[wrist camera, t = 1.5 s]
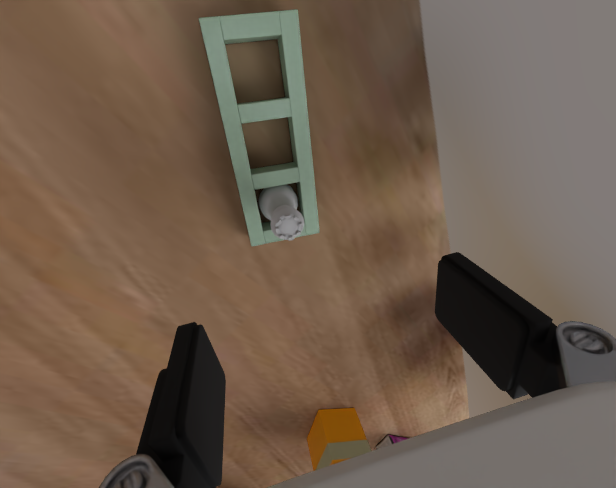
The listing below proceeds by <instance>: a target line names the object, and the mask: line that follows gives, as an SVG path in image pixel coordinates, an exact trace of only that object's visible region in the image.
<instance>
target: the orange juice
mask: <svg viewBox="0 0 616 488" xmlns="http://www.w3.org/2000/svg"><path fill="white" fill-rule="evenodd" d="M307 442H308V447H309V451H310V456H311V460H312V465H313V470H314V471H315V470H318V469H321V468H324V467H327V466H330V465H333V464H336V463H338V462H341V461H344V460H347V459H350V458H353V457H356V456H359V455H362V454H365V453H368V452H371V448H370V446H369V443H368V441H367V439H366V436H365V434H364V431H363V428H362V426H361V423H360V421H359V418H358V416H357V413H356V410H355V408H341V409H323V410H318V412H317V415H316V417H315V420H314V422H313V425H312V427H311V429H310V432H309V434H308V437H307Z"/></svg>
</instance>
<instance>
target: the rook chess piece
mask: <svg viewBox="0 0 616 488" xmlns="http://www.w3.org/2000/svg"><path fill="white" fill-rule="evenodd" d="M258 202H259V207H260V210H261V212H262V213H263V215H264V216H265V217H266V218H267V219H269V220H271V224H270V225H271V231H272V232H273V233H274V235H275V236H277V237H278V238H280V239H283V240H284V239H285V240H294V239H293V238H295V237H296V236H298V237H299V235H300V234H301V232H302V230H303V227H304V218H303V216H302V214H301V213H300V212H299V211H297V207H298V199H297V196H296V193H295V192H294V190H293V188H291V187H290V186H288V185H287V184H285V185H279V186H274V187H268V188H264V189H263V191H262V192H261V193H260V196H259V201H258Z"/></svg>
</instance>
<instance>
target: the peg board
mask: <svg viewBox="0 0 616 488" xmlns="http://www.w3.org/2000/svg"><path fill="white" fill-rule="evenodd" d="M199 22H200V27H201V31H202V35H203V40H204V44H205V48H206V52H207V57H208V61H209V65H210V70H211V74H212V78H213V83H214V87H215V91H216V96H217V100H218V104H219V108H220V113H221V117H222V121H223V126H224V130H225V134H226V139H227V143H228V147H229V151H230V156H231V160H232V164H233V169H234V173H235V177H236V182H237V186H238V190H239V195H240V199H241V203H242V207H243V212H244V216H245V220H246V225H247V229H248V233H249V238H250V242H251V246H256V245H261V244H265V243H271V242H276V241H281V240H283V239H280V238H278V237H277V236H275V235H274V233H273V232H272V231H271V225H270V224H271V221H268V222H263V223H261V219H260V214H259V209H258V204H257V199H256V194H255V190H256V189H262V188H268V187H274V186H279V185H285V184H291V183H296V184H297V192H298V199H299V207H300V213H301V214H302V216H303V218H304V227H303V230H302V232H301V234H300V235H299V237H300V236H305V235H311V234H316V233H319V221H318V211H317V201H316V191H315V181H314V171H313V161H312V151H311V140H310V130H309V120H308V110H307V100H306V90H305V80H304V69H303V59H302V49H301V39H300V29H299V19H298V10H285V11H279V12H278V11H273V12H261V13H250V14H238V15H226V16H215V17H204V18H199ZM274 39H278V46H279V53H280V61H281V69H282V76H283V84H284V92H285V97H284V98H277V99H269V100H261V101H254V102H246V103H238V104H237V101H236V96H235V92H234V87H233V82H232V77H231V72H230V67H229V62H228V57H227V52H226V48H225V44H233V43H243V42H254V41H264V40H274ZM285 117H288V123H289V130H290V138H291V146H292V153H293V161H294V162H291V163H285V164H279V165H272V166H266V167H260V168H254V169H250V165H249V160H248V155H247V150H246V145H245V141H244V136H243V131H242V126H241V124H243V123H250V122H257V121H264V120H271V119H278V118H285ZM254 189H255V190H254ZM296 237H298V236H296ZM296 237H295V238H296ZM284 240H285V239H284Z"/></svg>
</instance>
